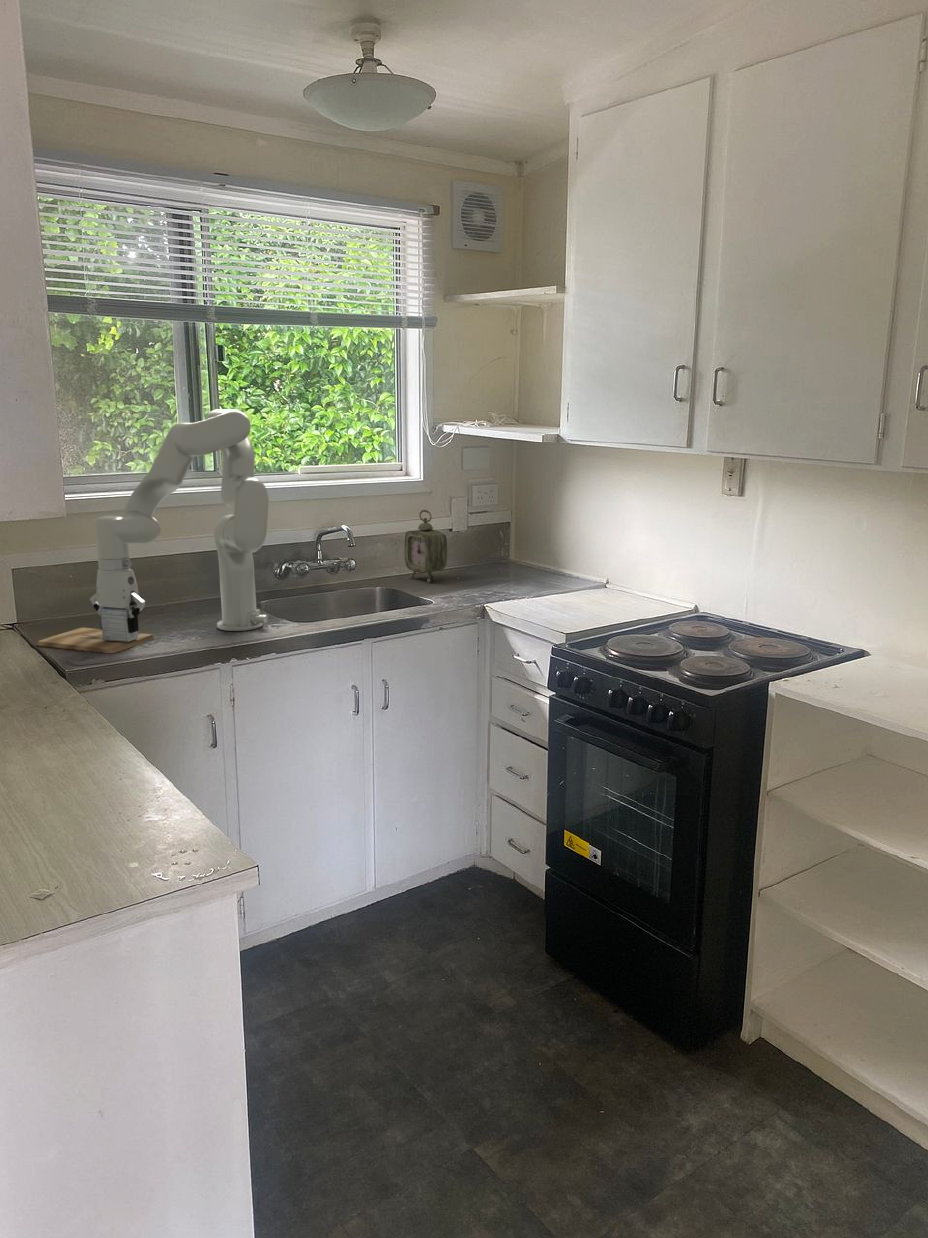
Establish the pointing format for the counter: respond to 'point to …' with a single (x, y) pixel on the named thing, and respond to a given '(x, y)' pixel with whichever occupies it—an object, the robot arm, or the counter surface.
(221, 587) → the robot arm
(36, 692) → the counter surface
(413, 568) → the tabletop clock
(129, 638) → the medicine box
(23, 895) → the counter surface
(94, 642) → the light brown wooden board
